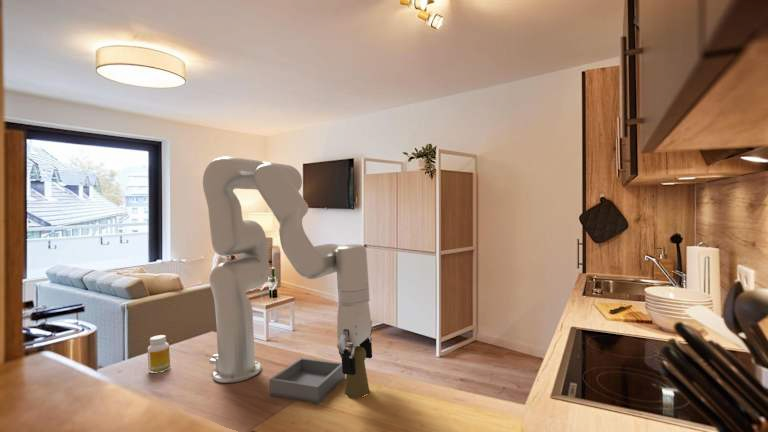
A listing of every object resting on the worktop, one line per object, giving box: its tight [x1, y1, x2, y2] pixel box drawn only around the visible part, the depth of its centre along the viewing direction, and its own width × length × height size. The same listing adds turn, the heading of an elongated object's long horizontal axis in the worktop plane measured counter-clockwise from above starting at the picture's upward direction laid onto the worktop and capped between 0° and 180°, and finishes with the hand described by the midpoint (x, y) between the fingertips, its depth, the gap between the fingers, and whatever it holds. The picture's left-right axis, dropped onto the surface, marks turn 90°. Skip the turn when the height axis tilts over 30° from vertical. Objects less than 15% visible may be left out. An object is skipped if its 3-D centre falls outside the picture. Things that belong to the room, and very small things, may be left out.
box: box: [268, 357, 346, 405], centre depth 96 cm, size 14×14×4 cm
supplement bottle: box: [147, 334, 171, 372], centre depth 110 cm, size 5×5×10 cm
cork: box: [344, 345, 370, 399], centre depth 92 cm, size 6×6×11 cm
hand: (358, 365), depth 92 cm, fingers open, 9 cm apart
